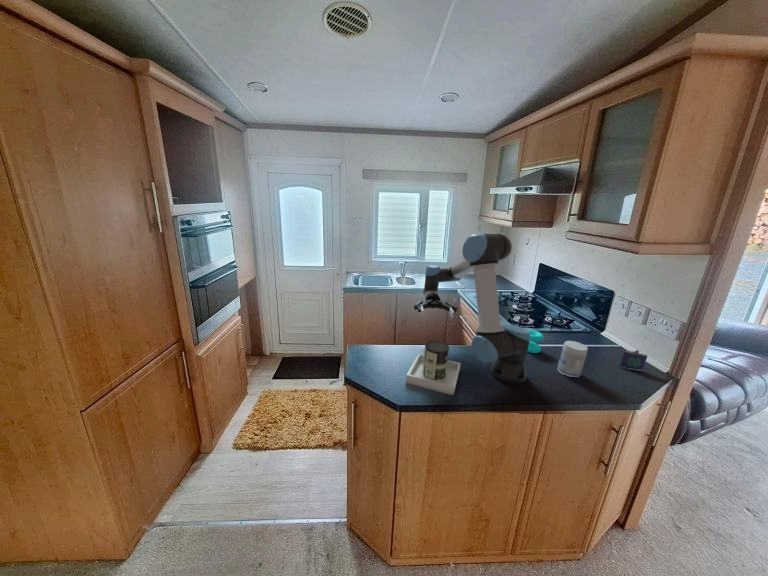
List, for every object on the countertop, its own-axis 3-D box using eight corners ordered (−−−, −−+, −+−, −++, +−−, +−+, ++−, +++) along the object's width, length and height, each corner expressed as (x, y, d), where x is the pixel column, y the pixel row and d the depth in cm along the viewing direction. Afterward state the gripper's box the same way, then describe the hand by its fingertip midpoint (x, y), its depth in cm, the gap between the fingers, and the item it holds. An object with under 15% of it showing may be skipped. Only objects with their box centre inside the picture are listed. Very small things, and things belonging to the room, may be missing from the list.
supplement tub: (552, 367, 143) (559, 339, 139) (572, 368, 143) (579, 340, 139) (564, 378, 134) (571, 349, 129) (585, 379, 134) (593, 350, 129)
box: (459, 370, 135) (460, 363, 134) (453, 395, 117) (454, 387, 116) (417, 360, 142) (418, 353, 141) (405, 383, 124) (406, 374, 123)
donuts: (548, 336, 153) (532, 337, 151) (544, 353, 156) (528, 354, 154) (534, 328, 162) (519, 329, 160) (531, 344, 165) (516, 346, 163)
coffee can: (445, 370, 133) (449, 342, 129) (445, 383, 124) (449, 353, 120) (423, 366, 135) (425, 339, 131) (421, 379, 126) (424, 349, 121)
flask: (641, 370, 144) (647, 350, 141) (643, 373, 142) (650, 353, 139) (618, 365, 148) (624, 346, 144) (620, 368, 145) (626, 349, 142)
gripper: (455, 307, 153) (464, 323, 132) (408, 304, 154) (409, 320, 133) (457, 293, 150) (466, 308, 130) (409, 291, 151) (410, 304, 131)
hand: (437, 314), depth 132 cm, fingers open, 13 cm apart
